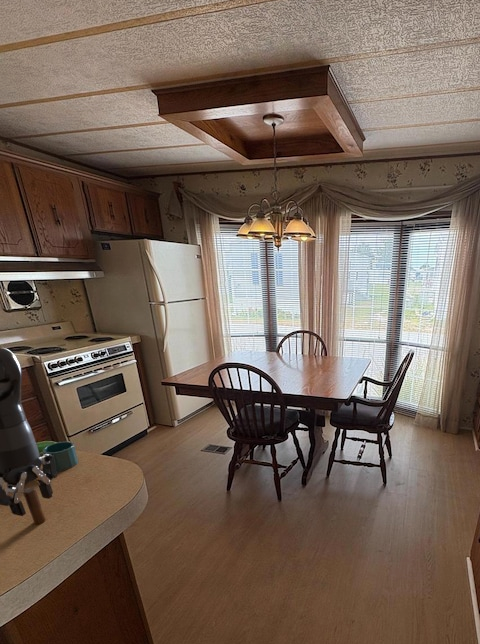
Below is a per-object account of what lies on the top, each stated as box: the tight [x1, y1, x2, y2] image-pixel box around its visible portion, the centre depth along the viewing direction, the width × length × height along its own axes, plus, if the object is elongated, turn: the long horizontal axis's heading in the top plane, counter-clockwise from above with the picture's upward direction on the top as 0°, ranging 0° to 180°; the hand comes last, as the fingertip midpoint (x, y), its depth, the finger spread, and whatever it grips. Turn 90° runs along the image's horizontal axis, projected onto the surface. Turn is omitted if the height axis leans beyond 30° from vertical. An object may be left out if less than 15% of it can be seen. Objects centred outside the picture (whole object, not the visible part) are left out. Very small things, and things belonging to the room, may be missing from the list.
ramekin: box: [36, 440, 57, 457], centre depth 107 cm, size 9×9×4 cm
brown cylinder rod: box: [22, 486, 47, 525], centre depth 80 cm, size 2×2×9 cm
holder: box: [42, 441, 80, 472], centre depth 102 cm, size 7×7×8 cm
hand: (34, 505), depth 80 cm, fingers open, 6 cm apart
